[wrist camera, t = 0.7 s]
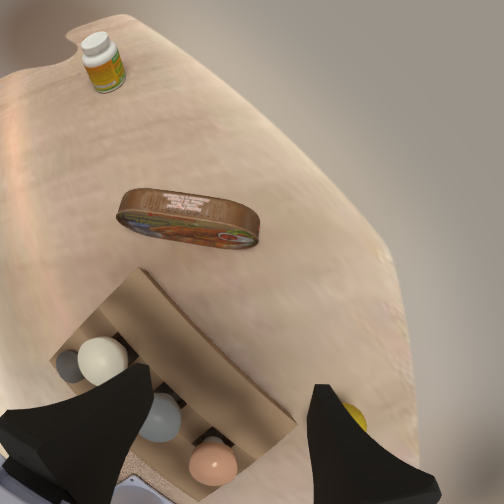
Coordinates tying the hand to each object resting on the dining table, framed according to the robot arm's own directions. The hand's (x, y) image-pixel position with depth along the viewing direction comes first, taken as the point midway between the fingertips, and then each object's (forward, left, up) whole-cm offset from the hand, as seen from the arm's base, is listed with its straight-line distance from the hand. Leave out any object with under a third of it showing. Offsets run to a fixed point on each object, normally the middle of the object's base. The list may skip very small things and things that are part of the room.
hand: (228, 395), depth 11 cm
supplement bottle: (+12, +39, -21) cm, 46 cm away
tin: (+6, +11, -21) cm, 25 cm away
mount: (-9, -1, -21) cm, 23 cm away
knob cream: (-9, +6, -17) cm, 20 cm away
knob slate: (-9, -1, -17) cm, 19 cm away
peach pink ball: (-9, -8, -17) cm, 21 cm away
